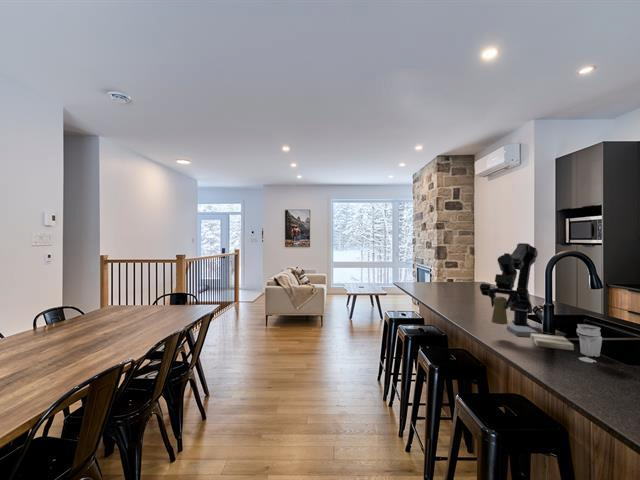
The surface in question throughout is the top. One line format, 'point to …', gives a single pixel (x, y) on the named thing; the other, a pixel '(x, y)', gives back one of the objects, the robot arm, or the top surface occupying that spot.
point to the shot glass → (591, 347)
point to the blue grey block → (521, 330)
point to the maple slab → (551, 341)
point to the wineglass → (588, 337)
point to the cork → (499, 310)
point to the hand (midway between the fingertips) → (498, 307)
